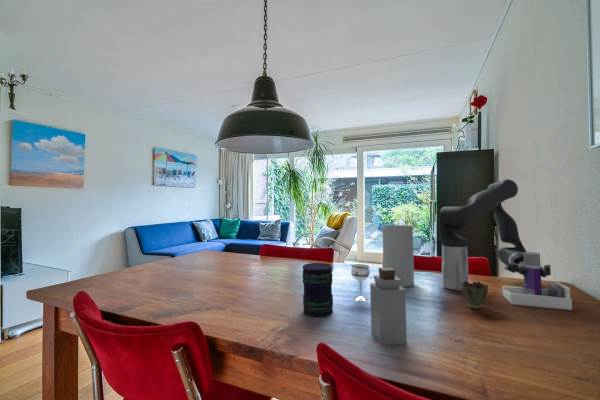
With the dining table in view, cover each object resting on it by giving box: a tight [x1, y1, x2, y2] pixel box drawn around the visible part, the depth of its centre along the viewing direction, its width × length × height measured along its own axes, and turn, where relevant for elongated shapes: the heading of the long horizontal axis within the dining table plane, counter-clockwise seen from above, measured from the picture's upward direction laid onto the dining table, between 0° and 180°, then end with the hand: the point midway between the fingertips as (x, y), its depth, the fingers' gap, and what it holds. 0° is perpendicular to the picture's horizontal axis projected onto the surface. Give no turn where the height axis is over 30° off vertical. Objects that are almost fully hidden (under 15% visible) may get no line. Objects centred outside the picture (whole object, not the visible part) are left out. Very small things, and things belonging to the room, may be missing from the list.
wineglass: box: [350, 263, 371, 302], centre depth 104 cm, size 7×7×12 cm
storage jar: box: [302, 262, 334, 318], centre depth 92 cm, size 10×10×15 cm
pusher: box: [547, 283, 562, 297], centre depth 95 cm, size 1×7×5 cm, turn 158°
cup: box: [462, 281, 489, 310], centre depth 93 cm, size 8×7×8 cm
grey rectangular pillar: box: [381, 224, 415, 288], centre depth 123 cm, size 12×12×25 cm
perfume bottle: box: [369, 267, 408, 346], centre depth 73 cm, size 7×7×18 cm
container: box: [523, 251, 543, 296], centre depth 98 cm, size 5×5×15 cm
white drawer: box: [502, 281, 573, 311], centre depth 97 cm, size 16×10×6 cm, turn 68°
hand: (534, 273), depth 95 cm, fingers closed on container, 4 cm apart
